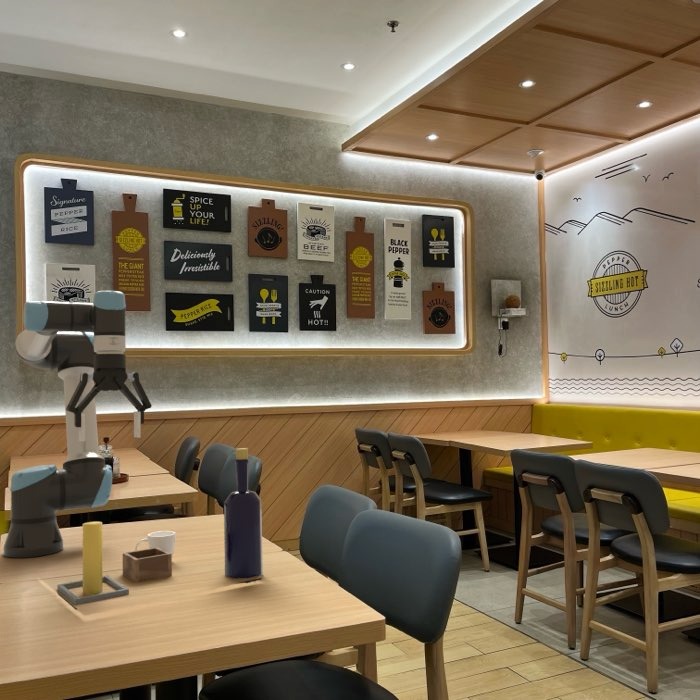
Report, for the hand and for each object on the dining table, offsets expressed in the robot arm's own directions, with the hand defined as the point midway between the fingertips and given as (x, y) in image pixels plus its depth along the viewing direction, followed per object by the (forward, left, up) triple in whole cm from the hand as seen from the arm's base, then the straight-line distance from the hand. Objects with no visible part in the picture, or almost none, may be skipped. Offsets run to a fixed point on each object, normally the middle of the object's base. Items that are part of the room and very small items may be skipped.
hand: (110, 439), depth 173 cm
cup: (+3, +10, -33) cm, 34 cm away
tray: (+18, -10, -32) cm, 38 cm away
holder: (+13, +4, -32) cm, 35 cm away
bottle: (+27, +22, -33) cm, 48 cm away
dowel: (+18, -10, -32) cm, 38 cm away
